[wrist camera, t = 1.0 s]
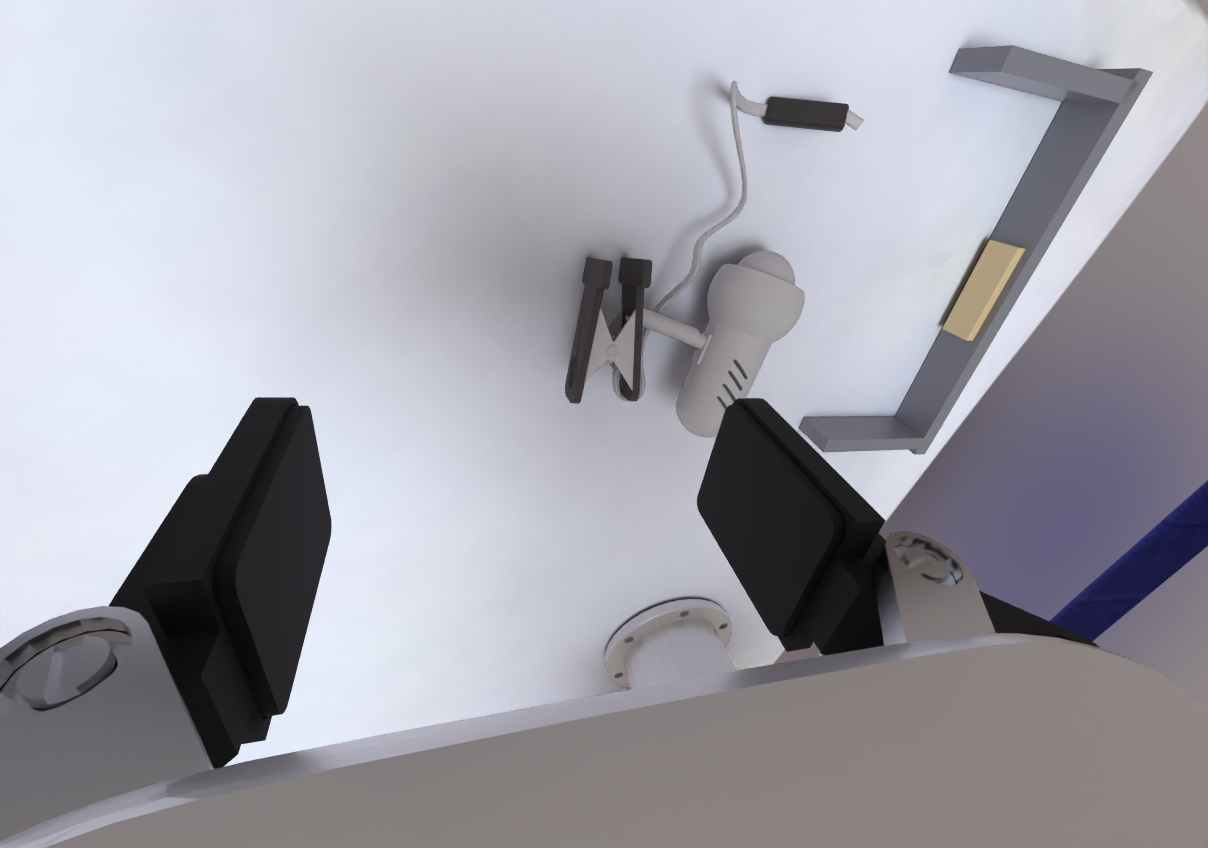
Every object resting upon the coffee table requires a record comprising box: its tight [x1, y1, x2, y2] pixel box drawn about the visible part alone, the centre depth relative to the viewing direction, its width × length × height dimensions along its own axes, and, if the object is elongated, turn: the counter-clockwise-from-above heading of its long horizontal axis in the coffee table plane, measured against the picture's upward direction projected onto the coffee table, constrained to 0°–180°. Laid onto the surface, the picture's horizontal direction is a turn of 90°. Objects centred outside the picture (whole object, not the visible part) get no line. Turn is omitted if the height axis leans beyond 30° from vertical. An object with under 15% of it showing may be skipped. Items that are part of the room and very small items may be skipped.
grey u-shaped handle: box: [799, 45, 1153, 454], centre depth 32 cm, size 24×10×3 cm, turn 171°
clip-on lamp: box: [565, 81, 864, 437], centre depth 26 cm, size 12×6×18 cm
